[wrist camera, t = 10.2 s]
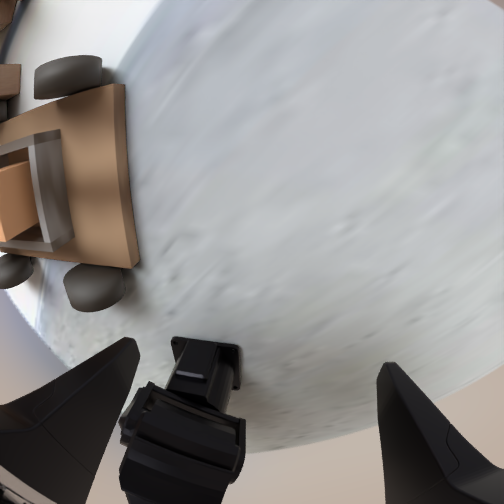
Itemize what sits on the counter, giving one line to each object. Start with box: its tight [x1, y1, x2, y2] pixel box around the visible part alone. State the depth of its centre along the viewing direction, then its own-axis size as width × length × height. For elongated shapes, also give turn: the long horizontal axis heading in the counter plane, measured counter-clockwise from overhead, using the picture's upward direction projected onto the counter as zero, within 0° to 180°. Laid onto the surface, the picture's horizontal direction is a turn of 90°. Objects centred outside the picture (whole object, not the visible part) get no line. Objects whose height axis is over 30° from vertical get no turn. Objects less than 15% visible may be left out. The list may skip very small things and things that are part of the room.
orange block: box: [0, 160, 40, 242], centre depth 17 cm, size 5×5×6 cm
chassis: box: [0, 55, 140, 312], centre depth 18 cm, size 18×20×6 cm
